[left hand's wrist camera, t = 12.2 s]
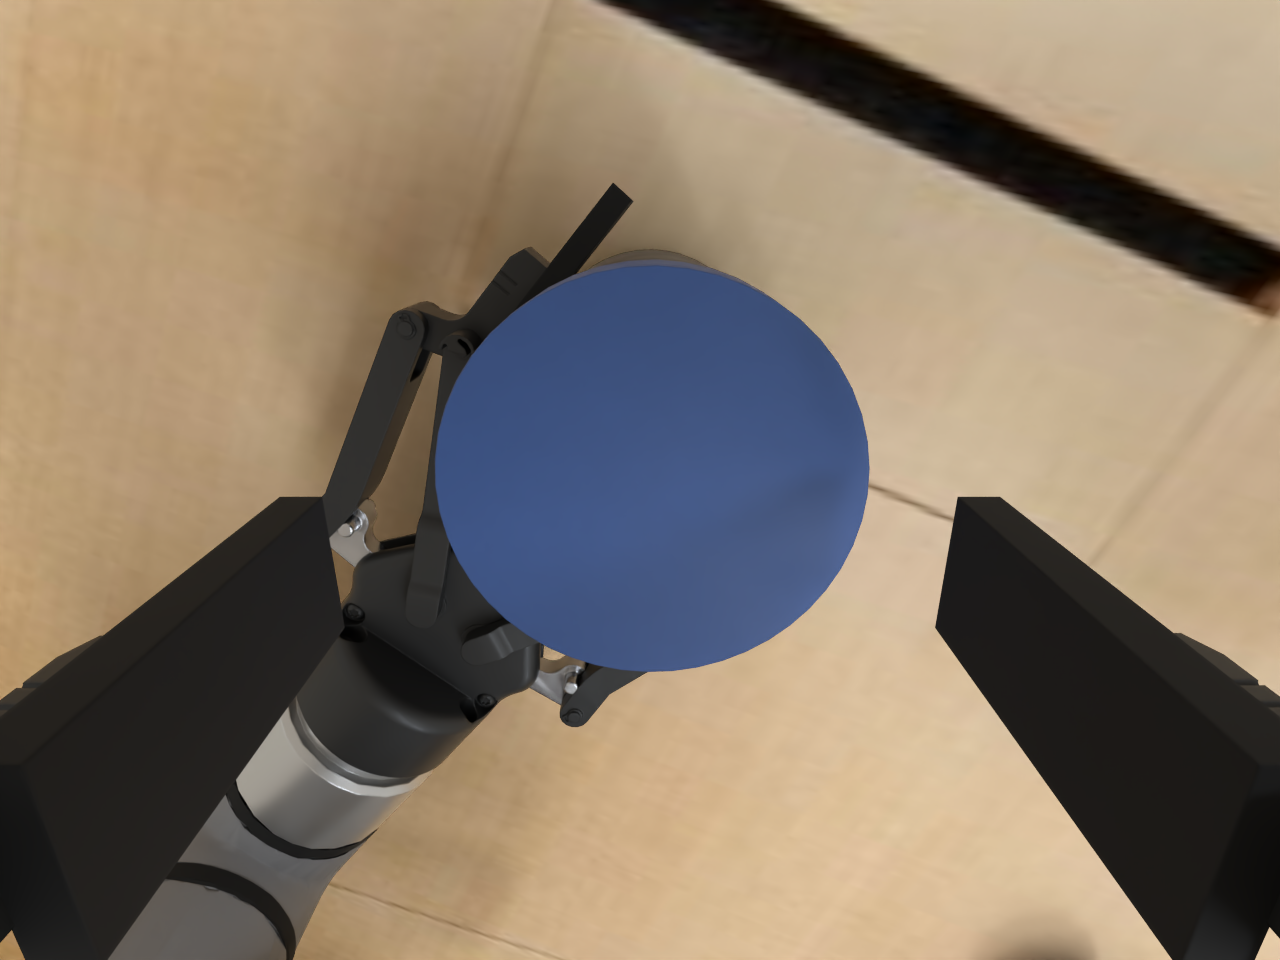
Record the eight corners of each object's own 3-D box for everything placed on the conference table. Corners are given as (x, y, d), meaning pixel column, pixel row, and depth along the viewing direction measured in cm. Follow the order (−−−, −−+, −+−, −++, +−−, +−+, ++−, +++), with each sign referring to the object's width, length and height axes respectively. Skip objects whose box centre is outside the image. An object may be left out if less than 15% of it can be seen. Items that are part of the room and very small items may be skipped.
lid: (676, 690, 21) (679, 736, 19) (382, 490, 18) (352, 521, 17) (929, 434, 18) (962, 459, 16) (616, 162, 16) (612, 156, 14)
